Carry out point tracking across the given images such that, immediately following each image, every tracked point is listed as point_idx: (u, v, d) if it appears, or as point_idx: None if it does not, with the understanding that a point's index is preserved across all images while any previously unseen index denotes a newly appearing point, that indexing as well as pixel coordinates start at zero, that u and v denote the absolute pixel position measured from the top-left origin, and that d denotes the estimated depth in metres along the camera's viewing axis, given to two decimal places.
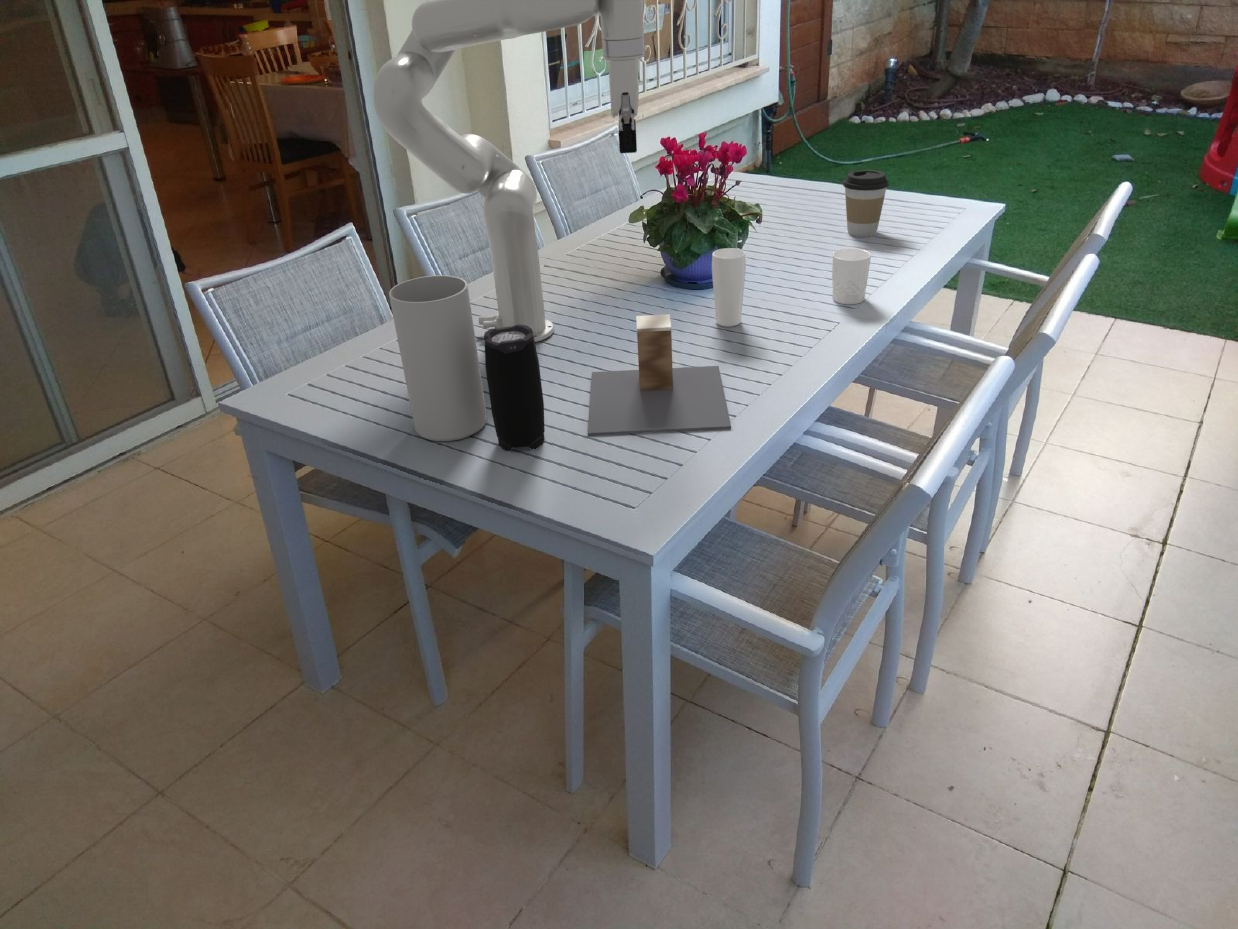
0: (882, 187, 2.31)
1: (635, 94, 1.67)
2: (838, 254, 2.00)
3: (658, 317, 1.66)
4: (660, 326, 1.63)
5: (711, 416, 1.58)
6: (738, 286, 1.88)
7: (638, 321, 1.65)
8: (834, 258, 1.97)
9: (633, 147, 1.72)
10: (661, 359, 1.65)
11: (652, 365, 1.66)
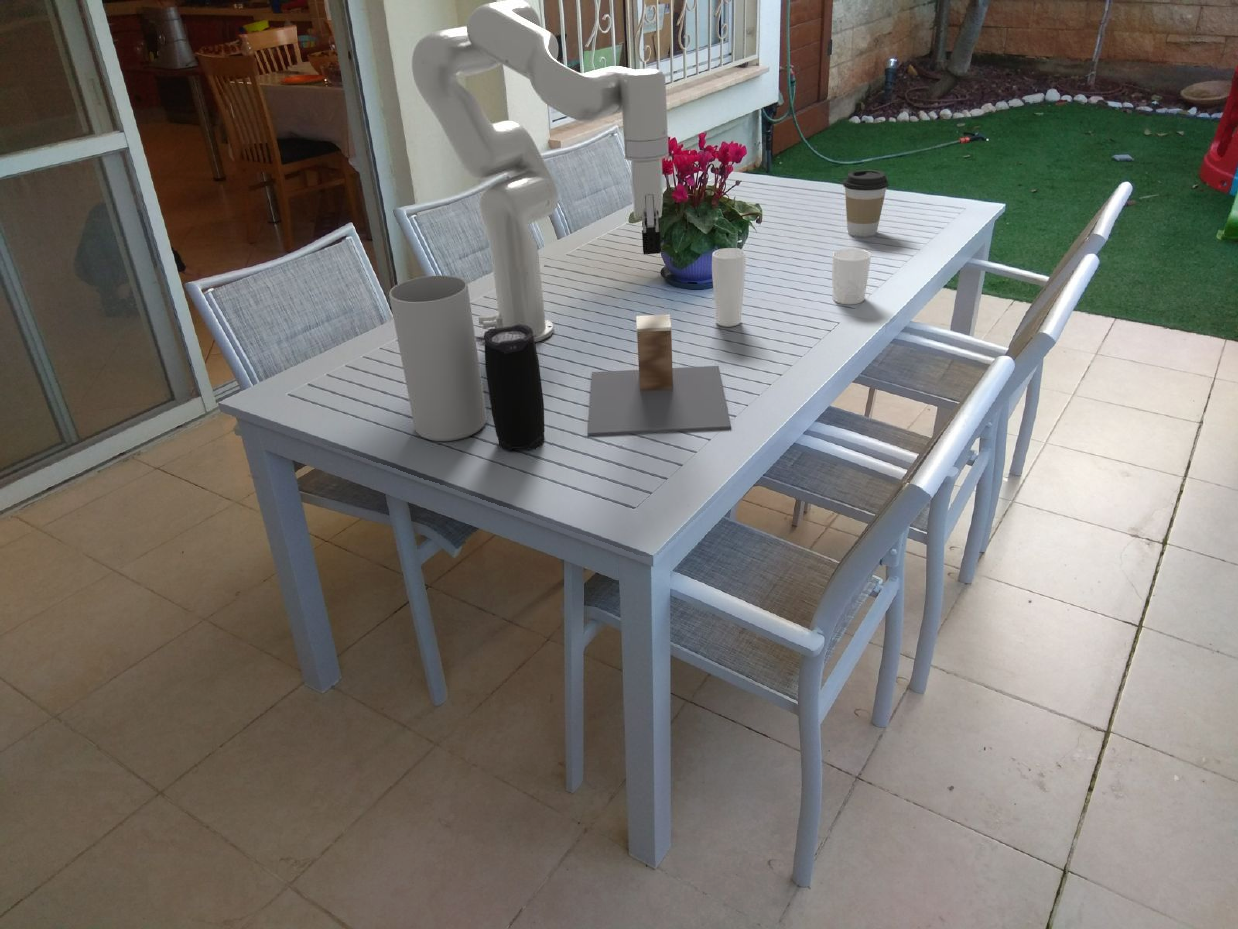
0: (882, 187, 2.31)
1: (659, 195, 1.58)
2: (838, 254, 2.00)
3: (658, 317, 1.66)
4: (660, 326, 1.63)
5: (711, 416, 1.58)
6: (738, 286, 1.88)
7: (638, 321, 1.65)
8: (834, 258, 1.97)
9: (657, 248, 1.67)
10: (661, 359, 1.65)
11: (652, 365, 1.66)
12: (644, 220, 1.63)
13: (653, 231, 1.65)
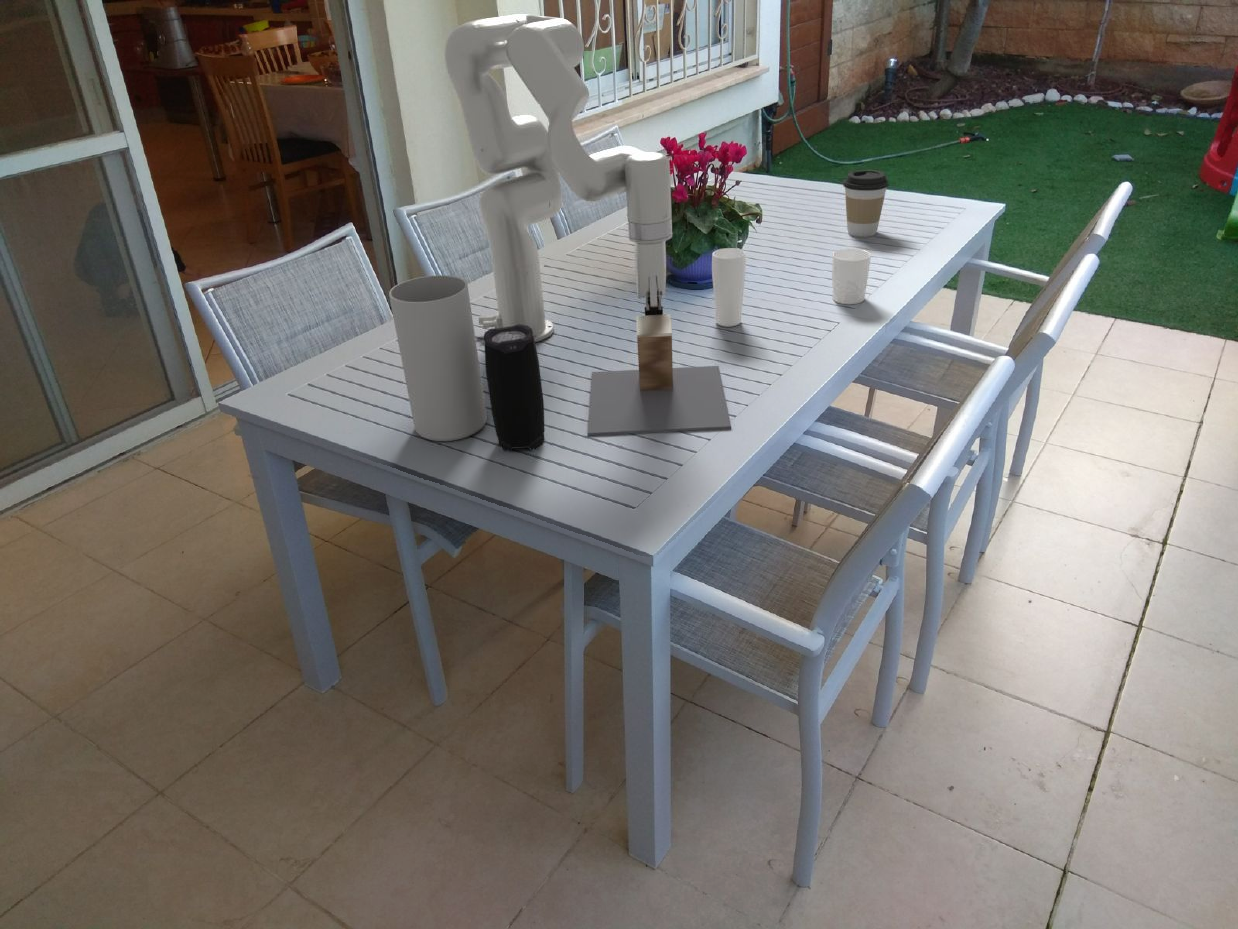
0: (882, 187, 2.31)
1: (663, 277, 1.59)
2: (838, 254, 2.00)
3: (659, 318, 1.64)
4: (660, 331, 1.61)
5: (711, 416, 1.58)
6: (738, 286, 1.88)
7: (638, 324, 1.63)
8: (834, 258, 1.97)
9: None
10: (661, 362, 1.64)
11: (653, 367, 1.65)
12: (647, 299, 1.64)
13: (656, 309, 1.65)
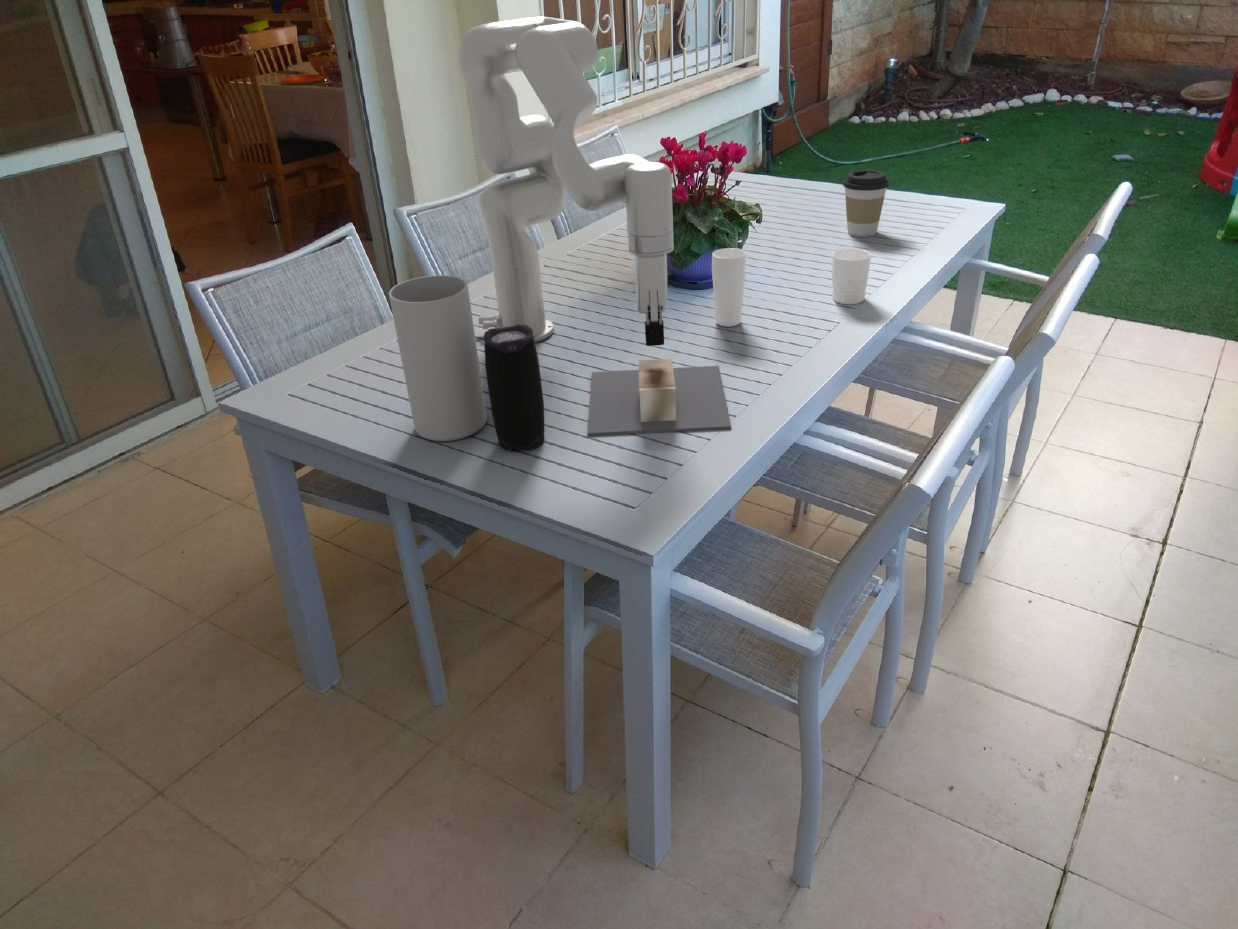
0: (882, 187, 2.31)
1: (664, 291, 1.53)
2: (838, 254, 2.00)
3: (663, 396, 1.55)
4: (665, 418, 1.58)
5: (711, 416, 1.58)
6: (738, 286, 1.88)
7: (642, 404, 1.56)
8: (834, 258, 1.97)
9: (660, 340, 1.62)
10: None
11: None
12: (647, 313, 1.58)
13: (657, 324, 1.59)
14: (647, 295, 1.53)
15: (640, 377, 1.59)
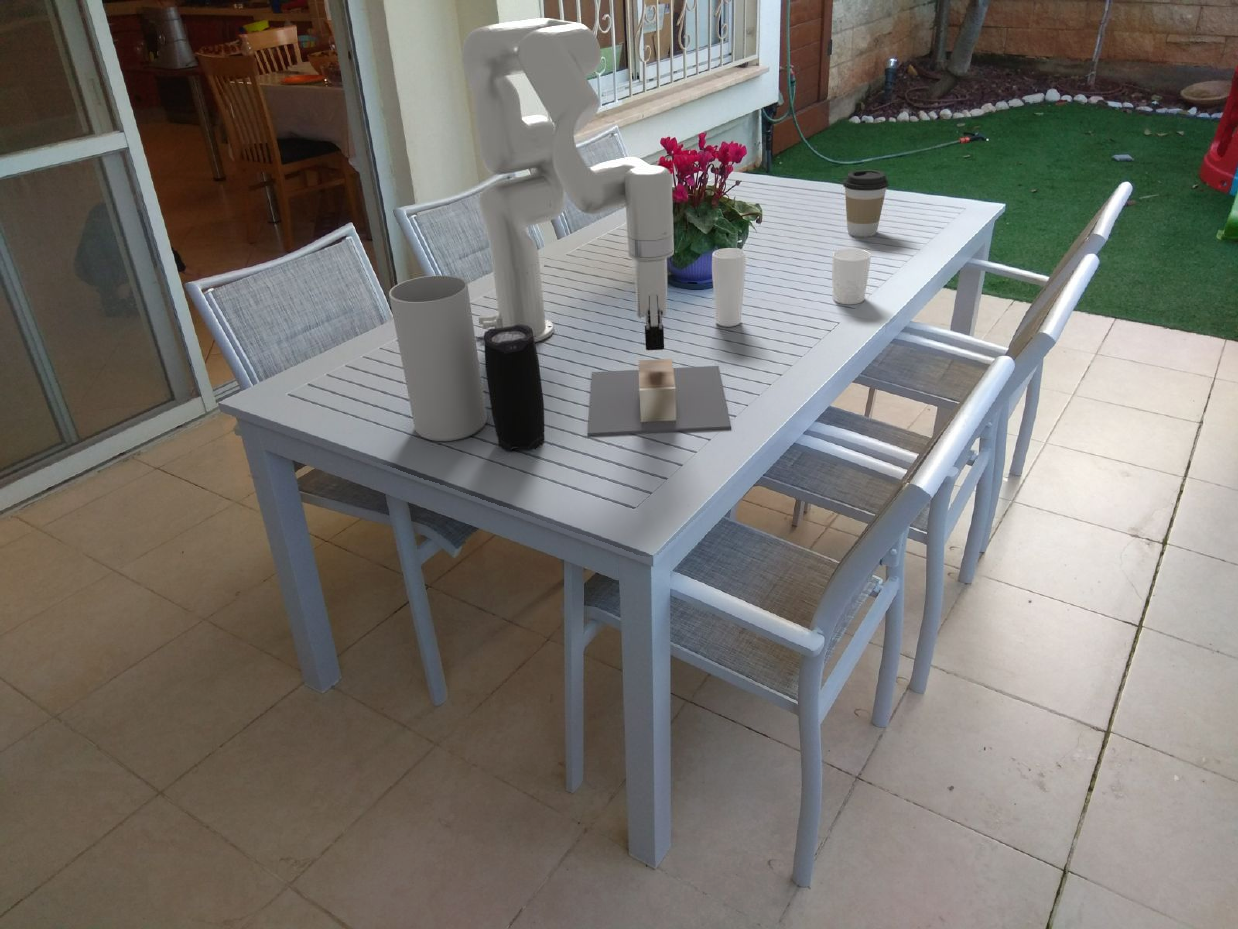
0: (882, 187, 2.31)
1: (664, 296, 1.52)
2: (838, 254, 2.00)
3: (663, 396, 1.55)
4: (665, 418, 1.58)
5: (711, 416, 1.58)
6: (738, 286, 1.88)
7: (642, 404, 1.56)
8: (834, 258, 1.97)
9: (660, 344, 1.61)
10: None
11: None
12: (647, 318, 1.57)
13: (656, 328, 1.58)
14: (647, 300, 1.52)
15: (640, 377, 1.59)
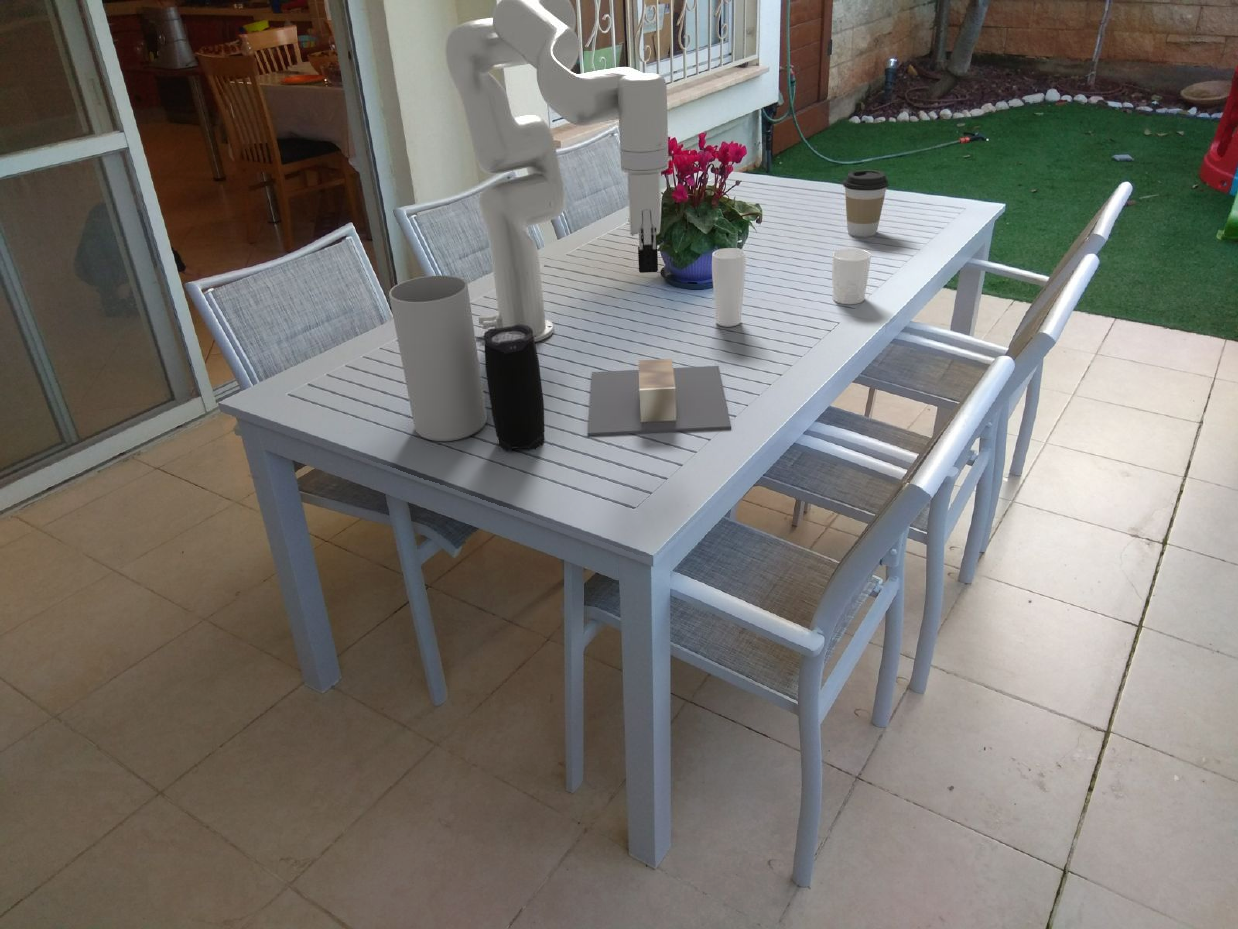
0: (882, 187, 2.31)
1: (658, 211, 1.46)
2: (838, 254, 2.00)
3: (663, 396, 1.55)
4: (665, 418, 1.58)
5: (711, 416, 1.58)
6: (738, 286, 1.88)
7: (642, 404, 1.56)
8: (834, 258, 1.97)
9: (654, 266, 1.55)
10: None
11: None
12: (640, 237, 1.51)
13: (650, 248, 1.52)
14: (640, 215, 1.46)
15: (640, 377, 1.59)
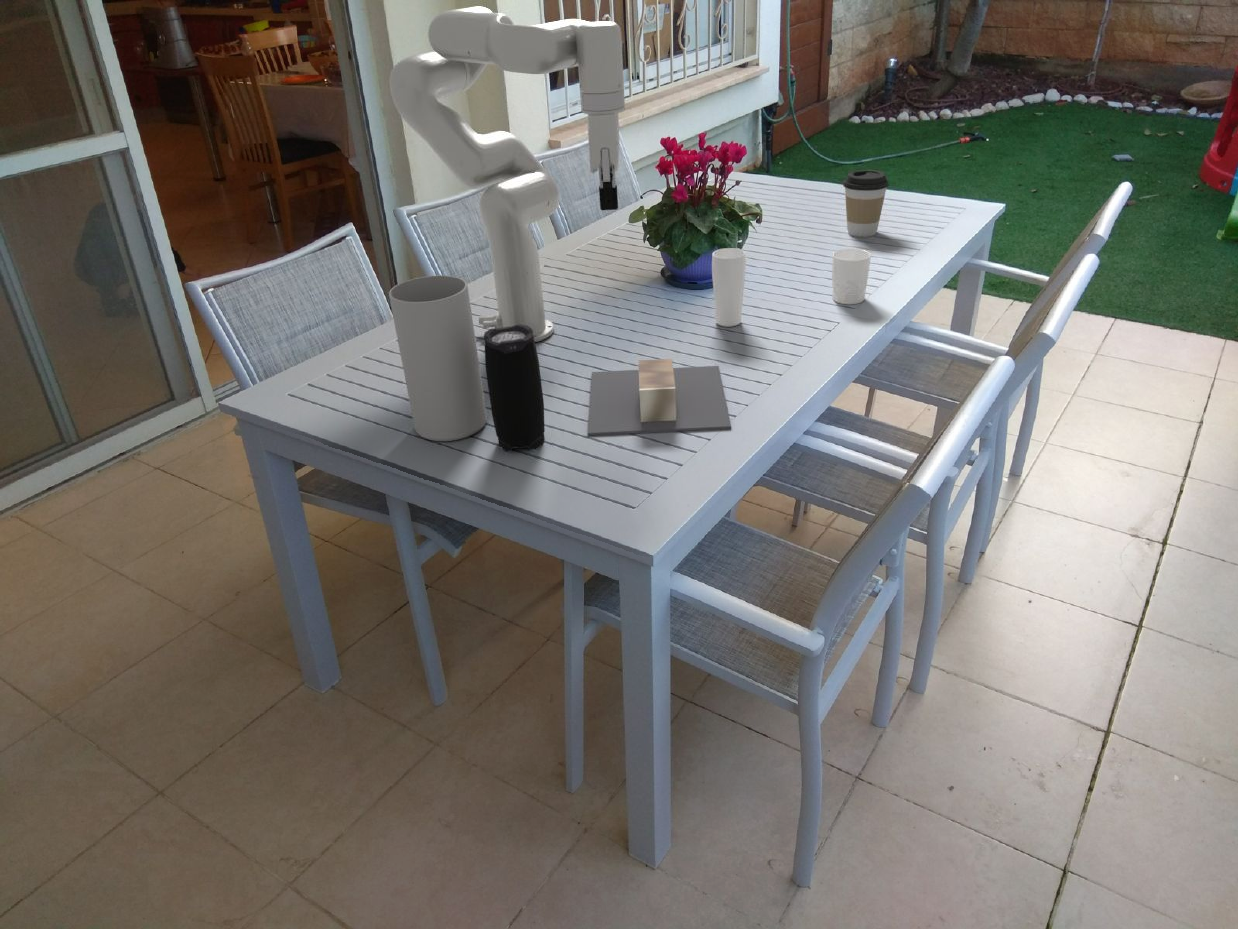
0: (882, 187, 2.31)
1: (615, 149, 1.59)
2: (838, 254, 2.00)
3: (663, 396, 1.55)
4: (665, 418, 1.58)
5: (711, 416, 1.58)
6: (738, 286, 1.88)
7: (642, 404, 1.56)
8: (834, 258, 1.97)
9: (614, 204, 1.67)
10: None
11: None
12: (601, 175, 1.63)
13: (610, 186, 1.65)
14: (599, 153, 1.59)
15: (640, 377, 1.59)
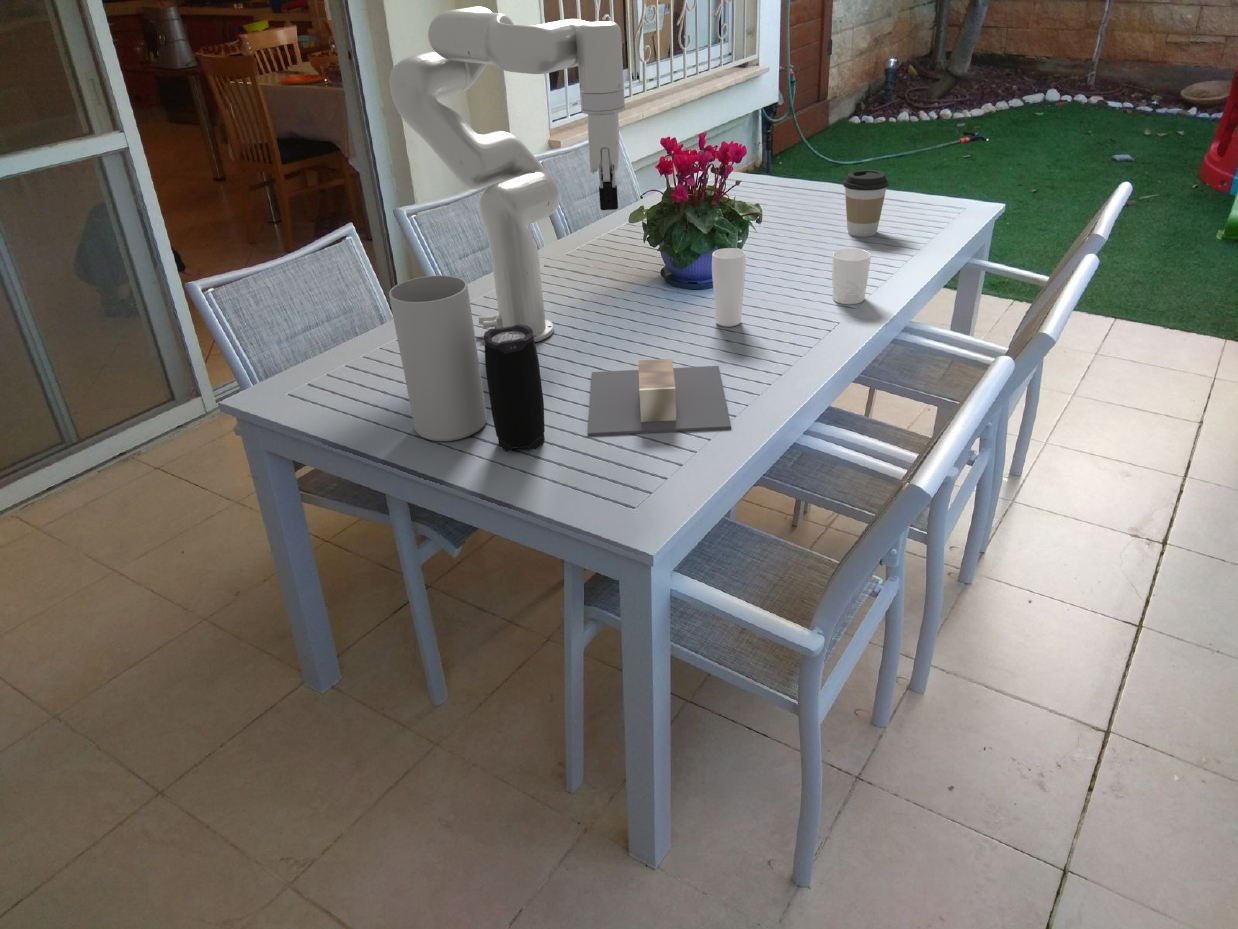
0: (882, 187, 2.31)
1: (615, 149, 1.59)
2: (838, 254, 2.00)
3: (663, 396, 1.55)
4: (665, 418, 1.58)
5: (711, 416, 1.58)
6: (738, 286, 1.88)
7: (642, 404, 1.56)
8: (834, 258, 1.97)
9: (614, 204, 1.67)
10: None
11: None
12: (601, 175, 1.63)
13: (610, 186, 1.65)
14: (599, 153, 1.59)
15: (640, 377, 1.59)
